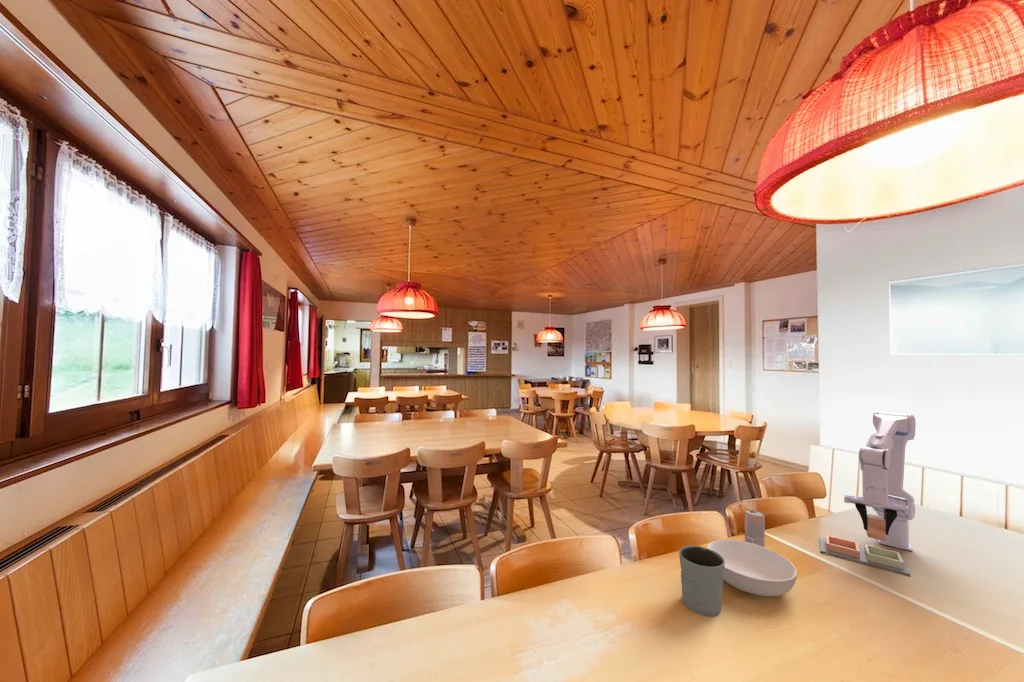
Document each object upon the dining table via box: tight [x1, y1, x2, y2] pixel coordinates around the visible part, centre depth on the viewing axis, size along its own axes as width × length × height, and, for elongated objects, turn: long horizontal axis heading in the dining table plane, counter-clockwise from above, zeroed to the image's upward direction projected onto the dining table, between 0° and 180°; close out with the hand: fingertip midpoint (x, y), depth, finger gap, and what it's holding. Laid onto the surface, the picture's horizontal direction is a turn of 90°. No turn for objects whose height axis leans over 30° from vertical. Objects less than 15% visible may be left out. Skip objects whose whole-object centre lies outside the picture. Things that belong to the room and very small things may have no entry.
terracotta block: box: [865, 513, 886, 541], centre depth 117 cm, size 4×4×6 cm
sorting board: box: [819, 534, 912, 577], centre depth 119 cm, size 12×20×3 cm, turn 52°
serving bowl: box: [706, 539, 798, 597], centre depth 103 cm, size 21×21×7 cm
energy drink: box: [744, 509, 766, 548], centre depth 121 cm, size 5×5×12 cm
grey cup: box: [678, 545, 725, 617], centre depth 93 cm, size 10×10×12 cm
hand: (875, 531), depth 117 cm, fingers closed on terracotta block, 4 cm apart
